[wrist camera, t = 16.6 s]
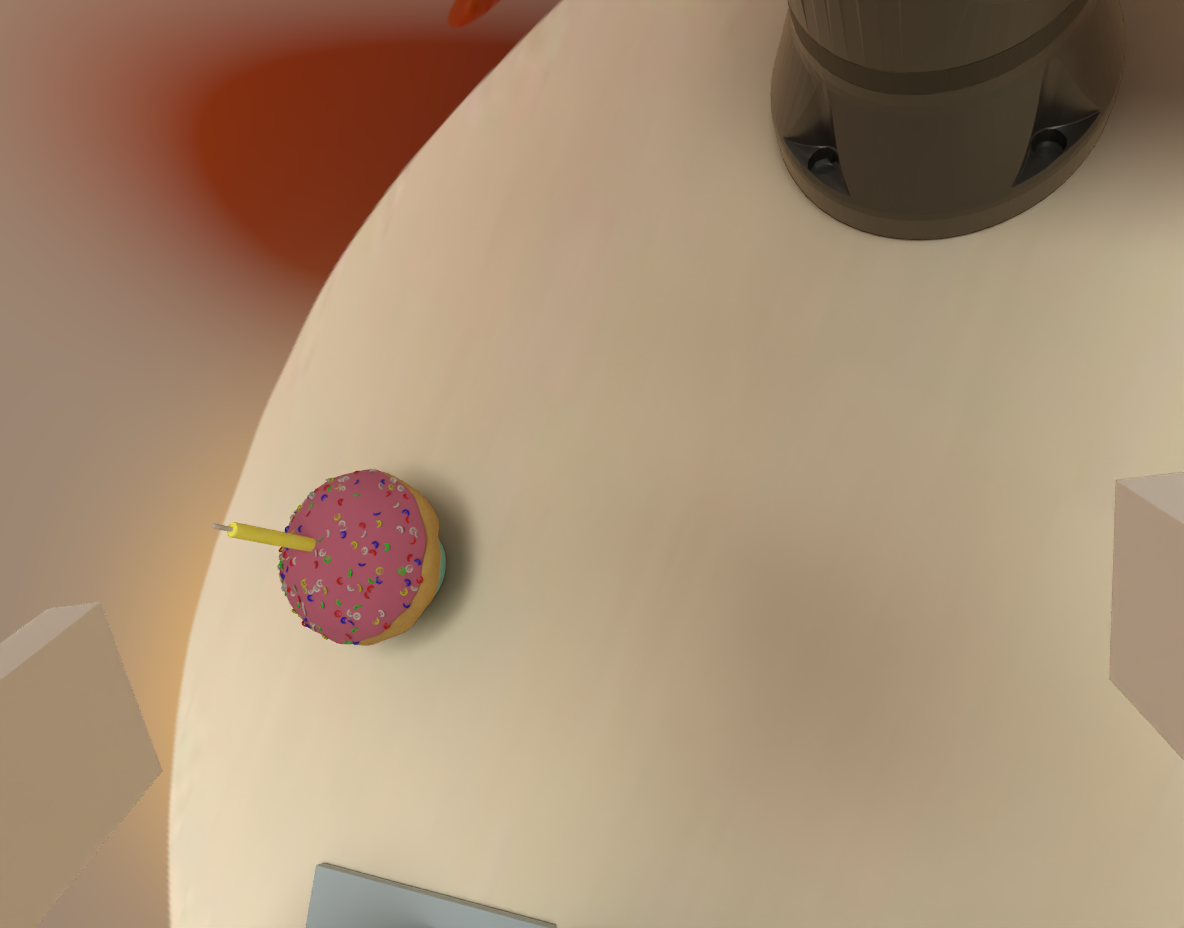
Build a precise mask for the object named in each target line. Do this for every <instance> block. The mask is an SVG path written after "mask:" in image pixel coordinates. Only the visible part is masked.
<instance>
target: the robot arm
mask: <svg viewBox="0 0 1184 928" xmlns="http://www.w3.org/2000/svg"><path fill="white" fill-rule="evenodd" d="M788 5H789V8H788V12H787V16H786V20H785V24H784V28H783V32H782V36H781V40H780V44H779V48H778V52H777V56H776V60H775V65H774V69H773V75H772V83H771V110H772V118H773V123H774V128H775V131H776V135H777V139H778V143H779V146H780V150H781V153H782V156H783V159H784V161H785V164H786V166H787V168H788V170H789V172H790V174H791V176H792V177H793V179H794V180H795V182H796V184H797V185H798V186H799V187H800V189H801V190H802V191H803V192H804V193H805V195H806V196H807V197H808V198H809V199H810V200H811V201H812V202H814V203H815V204H816V205H817V206H818V207H819V208H821V209H822V210H823V211H825V212H826V213H828V214H829V215H831V216H832V217H834V218H836V219H837V220H839V221H841V222H843V223H845V224H847V225H850V226H852V227H854V228H857V229H860V230H863V231H866V232H869V233H873V234H877V235H882V236H887V237H894V238H902V239H935V238H944V237H952V236H957V235H962V234H967V233H971V232H974V231H978V230H981V229H984V228H987V227H990V226H993V225H996V224H998V223H1001V222H1003V221H1005V220H1008V219H1010V218H1012V217H1014V216H1016V215H1018V214H1020V213H1022V212H1023V211H1025V210H1027V209H1029V208H1030V207H1032V206H1033V205H1035V204H1037V203H1038V202H1040V201H1041V200H1043V199H1044V198H1045V197H1047V196H1048V195H1049V194H1051V193H1052V192H1053V191H1054V190H1056V189H1057V188H1058V187H1059V186H1060V185H1061V184H1063V183H1064V182H1065V181H1066V180H1067V179H1068V178H1069V177H1070V176H1071V175H1072V174H1073V173H1074V172H1075V171H1076V169H1077V168H1078V167H1079V166H1080V165H1081V164H1082V162H1083V161H1084V160H1085V158H1086V157H1087V156H1088V155H1089V153H1090V152H1091V150H1092V149H1093V147H1094V146H1095V144H1096V142H1097V141H1098V139H1099V137H1100V135H1101V133H1102V131H1103V129H1104V127H1105V125H1106V122H1107V120H1108V117H1109V114H1110V111H1111V108H1112V105H1113V102H1114V99H1115V97H1116V94H1117V91H1118V88H1119V85H1120V81H1121V77H1122V73H1123V67H1124V59H1125V27H1124V20H1123V15H1122V11H1121V7H1120V3H1119V0H788ZM1109 679H1110V680H1111V681H1112V683H1113V684H1114V685H1115V686H1116V687H1117V688H1118V689H1119V690H1120V691H1121V692H1122V693H1123V695H1124V696H1125V697H1126V698H1127V699H1128V700H1129V701H1130V702H1131V703H1132V704H1133V705H1134V706H1135V708H1136V709H1137V710H1138V711H1139V712H1140V713H1141V714H1142V715H1143V716H1144V717H1145V718H1146V720H1147V721H1148V722H1149V723H1150V724H1151V725H1152V726H1153V727H1154V728H1155V729H1156V730H1157V732H1158V733H1159V734H1160V735H1161V736H1162V737H1163V738H1164V739H1165V740H1166V741H1167V742H1168V744H1169V745H1170V746H1171V747H1172V748H1173V749H1174V750H1175V751H1176V752H1177V753H1178V754H1179V755H1180V757H1181V758H1182V759H1183V760H1184V472H1179V473H1170V474H1162V475H1154V476H1145V477H1137V478H1129V479H1120V480H1116V487H1115V518H1114V549H1113V580H1112V611H1111V641H1110V672H1109ZM161 772H162V768H161V765H160V763H159V760H158V757H157V754H156V752H155V749H154V746H153V744H152V741H151V738H150V736H149V733H148V730H147V727H146V725H145V722H144V719H143V716H142V714H141V711H140V709H139V706H138V703H137V700H136V697H135V695H134V692H133V689H132V687H131V684H130V681H129V679H128V676H127V674H126V670H125V668H124V665H123V662H122V659H121V657H120V654H119V651H118V649H117V646H116V643H115V641H114V638H113V635H112V632H111V630H110V627H109V624H108V621H107V619H106V616H105V613H104V611H103V608H102V605H101V603H100V602H97V603H89V604H80V605H71V606H63V607H55V608H48V609H47V610H45V611H44V612H43V613H41V614H40V615H38V616H37V617H36V618H34V619H33V620H32V621H30V622H29V623H27V624H26V625H25V626H23V627H22V628H21V629H19V630H18V631H16V632H15V633H14V634H12V635H11V636H9V637H8V638H7V639H5V640H4V641H3V642H1V643H0V928H35V927H36V926H37V925H38V924H39V922H40V921H41V920H42V919H43V917H44V916H45V915H46V914H47V912H48V911H49V910H50V909H51V908H52V906H53V905H54V904H55V903H56V901H57V900H58V899H59V898H60V897H61V895H62V894H63V893H64V892H65V890H66V889H67V888H68V887H69V885H70V884H71V883H72V882H73V881H74V879H75V878H76V877H77V876H78V874H79V873H80V872H81V871H82V869H83V868H84V867H85V866H86V865H87V863H88V862H89V861H90V860H91V858H92V857H93V856H94V855H95V853H96V852H97V851H98V850H99V849H100V847H101V846H102V845H103V844H104V842H105V841H106V840H107V839H108V837H109V836H110V835H111V834H112V833H113V831H114V830H115V829H116V827H117V826H118V825H119V824H120V823H121V821H122V820H123V819H124V818H125V816H126V815H127V814H128V813H129V812H130V810H131V809H132V808H133V807H134V805H135V804H136V803H137V802H138V801H139V799H140V798H141V797H142V796H143V794H144V793H145V792H146V790H147V789H148V788H149V787H150V786H151V784H152V783H153V782H154V781H155V780H156V778H157V777H158V776H159V774H160V773H161Z"/></svg>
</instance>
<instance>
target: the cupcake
mask: <svg viewBox="0 0 1184 928" xmlns="http://www.w3.org/2000/svg"><path fill="white" fill-rule="evenodd" d="M329 479H330V480H329ZM326 481H327V482H326V483H324V484H323V485H321V486H320V487H319V488H317V489H315V491H314V492H311V493H310V494H309V495H308V497H307V499H306V500H305V501H304V502H303V503H302V504H303V505H299V506H298V508H297V509H296V510H295V511H294V513H295V514H293V515H292V516H291V517H290V520H291V521H290V523H289V526H287V527H286V528H285V532H280V531H275V530H270V529H265V528H261V527H256V526H251V525H246V524H241V523H236V522H232V523H230V524H229V526H224V525H219V524H213V525H212V528H215V529H219V530H224V531H227V534H228V536H229V537H232V538H238V539H243V540H249V541H254V542H259V543H265V544H270V545H275V546H281V548H280V549H279V552H282V554H280V555H279V560H280V563H279V564H278V566H277V568H278V570H280V572H279V577H280V580H281V583H282V585H283V586H282V587H281V589H282V591H284V592H285V596H286V595H287V598H288V600H289V602H290V604H291V606H292V607H293V609H292V612H293V613H296V614H298V616H299V617H300V618H301V619H302V620H303V621H302V625H303V626H305V627H308V628H310V629H312V630H313V631H315V632H318V633H320V634H322V637H323V638H324V639H326V640H327V639H328V638H329V639H331V640H332V641H334V642H336V643H339V644H354V645H357V644H358V645H372V644H375V643H378V642H380V641H383V640H386V639H388V638H391V637H393V636H396V635H399V634H401V633H403V632H405V631H407V630H408V629H410V628H411V627H412V626H413V625H414V624H415V622H416V621H417V619H418V618H419V616H420V615H421V613H422V612H423V611H424V610H425V609H426V607H427V606H428V605H429V604H430V602H431V601H432V599H433V598H434V596H435V595H436V593H437V592H438V590H439V589H440V587H441V584H442V582H443V579H444V576H445V570H446V557H445V551H444V548H443V545H442V543H441V541H440V539H439V538H438V532H439V520H438V518H437V516H436V514H435V511H434V509H433V508H432V506H431V505H430V503H429V502H428V501H427V500H426V499H425V497H424V496H422V495H421V494H420V493H419V492H418V491H417V490H415V489H414V488H412V487H411V486H409V485H408V484H406V483H405V482H403V481H401V480H400V479H398V478H396V477H394V476H392V475H390V474H388V473H385V472H381V471H379V470H375V469H370V470H363V471H355V472H353V473H349V474H345V475H342V476H338V477H336V478H328V479H326ZM299 507H300V508H299ZM292 517H293V518H292ZM280 556H281V558H280ZM279 566H280V568H279ZM283 588H284V589H283ZM294 611H295V612H294ZM304 622H305V623H304ZM304 624H305V625H304ZM324 636H325V637H324ZM326 637H327V638H326Z"/></svg>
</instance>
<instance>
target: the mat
mask: <svg viewBox="0 0 1184 928" xmlns="http://www.w3.org/2000/svg"><path fill="white" fill-rule="evenodd" d="M306 928H556V925H554V924H551V923H547V922H543V921H539V920H536V919H532V918H528V917H524V916H521V915H517V914H513V913H509V912H506V911H502V910H498V909H494V908H491V907H487V906H483V905H479V904H476V903H472V902H468V901H464V900H461V899H457V898H453V897H449V896H446V895H442V894H438V893H434V892H431V891H427V890H423V889H420V888H416V887H412V886H408V885H405V884H401V883H397V882H393V881H390V880H386V879H382V878H378V877H375V876H371V875H367V874H363V873H360V872H356V871H352V870H348V869H345V868H341V867H337V866H333V865H330V864H326V863H322V864H319V865H316V870H315V876H314V881H313V887H312V893H311V899H310V905H309V911H308V916H307V922H306Z"/></svg>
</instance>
